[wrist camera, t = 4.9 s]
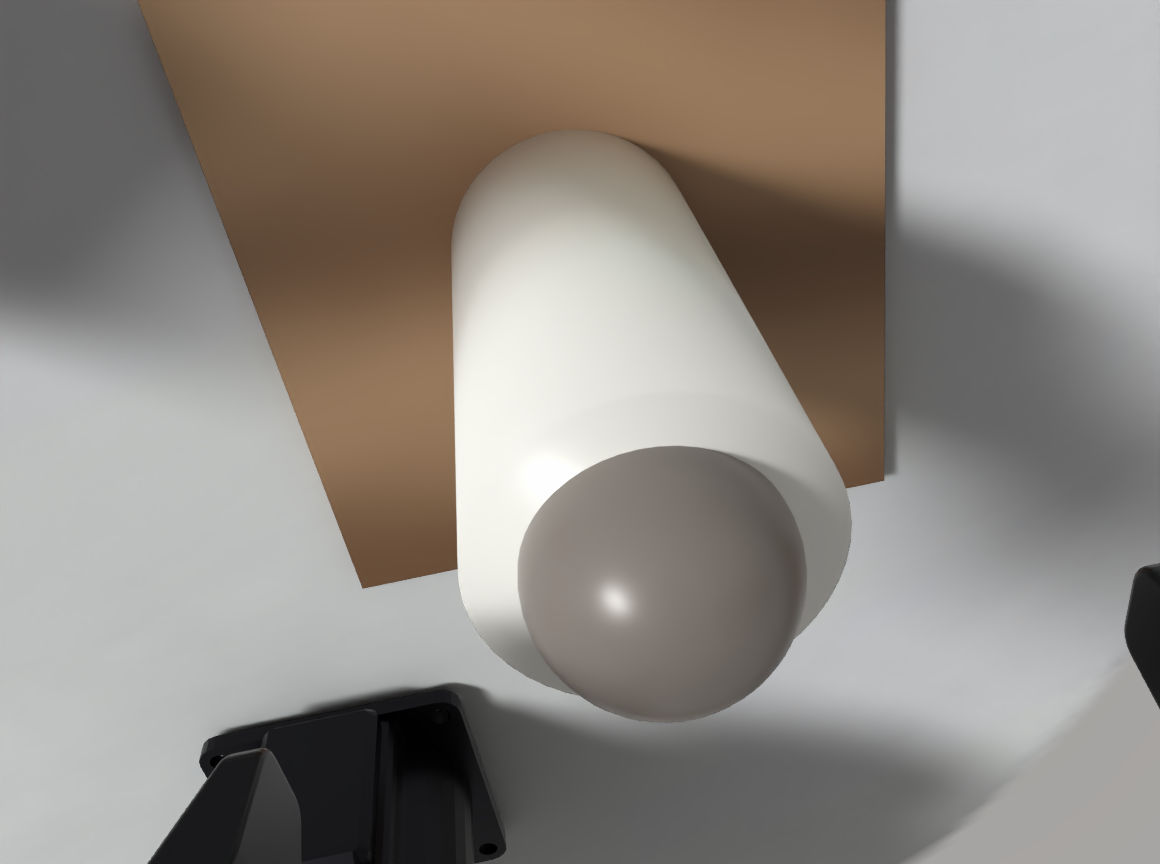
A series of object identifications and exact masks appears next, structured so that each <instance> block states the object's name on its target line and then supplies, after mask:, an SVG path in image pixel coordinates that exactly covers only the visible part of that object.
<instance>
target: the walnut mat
mask: <svg viewBox="0 0 1160 864" xmlns="http://www.w3.org/2000/svg"><path fill="white" fill-rule="evenodd" d="M137 1H138V3H139V6H140V9H141V11H142V14H143V16H144V19H145V22H146V24H147V27H148V29H149V32H150V35H151V37H152V40H153V43H154V45H155V48H156V50H157V53H158V56H159V58H160V61H161V63H162V66H163V69H164V71H165V74H166V76H167V79H168V82H169V84H170V87H171V90H172V92H173V95H174V97H175V100H176V103H177V105H178V108H179V110H180V113H181V116H182V118H183V121H184V123H185V126H186V129H187V131H188V134H189V137H190V139H191V142H192V144H193V147H194V150H195V152H196V155H197V157H198V160H199V163H200V165H201V168H202V170H203V173H204V176H205V178H206V181H207V183H208V186H209V189H210V191H211V194H212V197H213V199H214V202H215V204H216V207H217V210H218V212H219V215H220V217H221V220H222V223H223V225H224V228H225V230H226V233H227V236H228V238H229V241H230V244H231V246H232V249H233V251H234V254H235V257H236V259H237V262H238V264H239V267H240V270H241V272H242V275H243V277H244V280H245V283H246V285H247V288H248V290H249V293H250V296H251V298H252V301H253V304H254V306H255V309H256V311H257V314H258V317H259V319H260V322H261V324H262V327H263V330H264V332H265V335H266V337H267V340H268V343H269V345H270V348H271V351H272V353H273V356H274V358H275V361H276V364H277V366H278V369H279V371H280V374H281V377H282V379H283V382H284V384H285V387H286V390H287V392H288V395H289V398H290V400H291V403H292V405H293V408H294V411H295V413H296V416H297V418H298V421H299V424H300V426H301V429H302V431H303V434H304V437H305V439H306V442H307V444H308V447H309V450H310V452H311V455H312V458H313V460H314V463H315V465H316V468H317V471H318V473H319V476H320V478H321V481H322V484H323V486H324V489H325V491H326V494H327V497H328V499H329V502H330V505H331V507H332V510H333V512H334V515H335V518H336V520H337V523H338V525H339V528H340V531H341V533H342V536H343V538H344V541H345V544H346V546H347V549H348V551H349V554H350V557H351V559H352V562H353V565H354V567H355V570H356V572H357V575H358V578H359V580H360V583H361V585H362V588H368V587H373V586H378V585H382V584H387V583H392V582H397V581H402V580H407V579H411V578H416V577H421V576H426V575H431V574H436V573H440V572H445V571H450V570H455V569H458V563H457V513H456V463H455V413H454V363H453V314H452V264H451V240H452V230H453V226H454V221H455V217H456V214H457V211H458V209H459V206H460V204H461V201H462V199H463V197H464V195H465V194H466V192H467V190H468V188H469V186H470V185H471V184H472V182H473V181H474V180H475V178H476V177H477V176H478V174H479V173H480V172H481V171H482V170H483V169H484V168H485V167H486V166H487V165H488V164H489V163H490V162H491V161H492V160H494V159H495V158H496V157H497V156H499V155H500V154H501V153H503V152H504V151H506V150H507V149H509V148H511V147H512V146H514V145H516V144H518V143H520V142H522V141H524V140H527V139H529V138H532V137H534V136H538V135H541V134H545V133H549V132H554V131H561V130H591V131H598V132H603V133H607V134H610V135H614V136H617V137H620V138H622V139H624V140H627V141H629V142H631V143H633V144H635V145H636V146H638V147H640V148H641V149H643V150H645V151H646V152H647V153H648V154H650V155H651V156H652V157H653V158H655V159H656V160H657V161H658V162H659V163H660V164H661V165H662V166H663V167H664V169H665V170H666V171H667V172H668V173H669V175H670V176H671V178H672V179H673V180H674V182H675V183H676V185H677V187H678V188H679V190H680V192H681V194H682V196H683V197H684V199H685V201H686V203H687V204H688V206H689V208H690V210H691V211H692V213H693V215H694V217H695V218H696V220H697V222H698V224H699V226H700V227H701V229H702V231H703V233H704V234H705V236H706V238H707V240H708V241H709V243H710V245H711V247H712V249H713V250H714V252H715V254H716V256H717V257H718V259H719V261H720V263H721V264H722V266H723V268H724V270H725V271H726V273H727V275H728V277H729V279H730V280H731V282H732V284H733V286H734V287H735V289H736V291H737V293H738V294H739V296H740V298H741V300H742V302H743V303H744V305H745V307H746V309H747V310H748V312H749V314H750V316H751V317H752V319H753V321H754V323H755V324H756V326H757V328H758V330H759V332H760V333H761V335H762V337H763V339H764V340H765V342H766V344H767V346H768V347H769V349H770V351H771V353H772V354H773V356H774V358H775V360H776V362H777V363H778V365H779V367H780V369H781V370H782V372H783V374H784V376H785V377H786V379H787V381H788V383H789V385H790V386H791V388H792V390H793V392H794V393H795V395H796V397H797V399H798V400H799V402H800V404H801V406H802V407H803V409H804V411H805V413H806V415H807V416H808V418H809V420H810V422H811V423H812V425H813V427H814V429H815V430H816V432H817V434H818V436H819V438H820V439H821V441H822V443H823V445H824V446H825V448H826V450H827V452H828V453H829V455H830V457H831V459H832V460H833V462H834V464H835V466H836V468H837V470H838V472H839V474H840V476H841V478H842V480H843V482H844V485H845V488H851V487H856V486H861V485H865V484H870V483H875V482H880V481H884V353H885V15H886V0H137Z"/></svg>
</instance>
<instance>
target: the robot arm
mask: <svg viewBox="0 0 1160 864" xmlns="http://www.w3.org/2000/svg"><path fill="white" fill-rule="evenodd" d="M1124 631H1125V639H1126V644H1127V647H1128V649H1129V652H1130V654H1131V656H1132V658H1133V660H1134V662H1135V663H1136V665H1137V667H1138V669H1139V671H1140V673H1141V675H1142V677H1143V679H1144V680H1145V682H1146V684H1147V686H1148V688H1149V690H1150V692H1151V694H1152V696H1153V697H1154V699H1155V701H1156V703H1157V705H1158V707H1159V709H1160V563H1158V564H1154V565H1149V566H1144V567H1142V568H1140V569H1139V570H1138V572H1137V573H1136V574H1135V576H1134V580H1133V585H1132V590H1131V595H1130V600H1129V605H1128V611H1127V616H1126V621H1125V629H1124ZM438 709H444V711H436V710H438ZM221 755H223V756H221ZM199 763H200V767H201V768H202V770H203V772H204V773H205V775H206V777H207V780H206V782H205V783H204V784H203V786H202V787H201V789H200V790H199V792H198V793H197V794H196V796H195V797H194V799H193V800H192V801H191V803H190V804H189V806H188V807H187V808H186V810H185V811H184V813H183V814H182V815H181V817H180V818H179V820H178V821H177V823H176V824H175V825H174V827H173V828H172V830H171V831H170V832H169V834H168V835H167V837H166V838H165V839H164V841H163V842H162V844H161V845H160V847H159V848H158V849H157V851H156V852H155V854H154V855H153V856H152V858H151V859H150V861H149V862H148V863H147V864H475V863H479V862H483V861H488V860H493V859H495V858H498V857H500V856H501V855H503V854H504V852H505V851H506V837H505V831H504V828H503V825H502V822H501V819H500V816H499V813H498V810H497V807H496V804H495V801H494V798H493V795H492V792H491V789H490V786H489V783H488V780H487V777H486V775H485V772H484V769H483V766H482V763H481V760H480V757H479V754H478V751H477V748H476V745H475V742H474V739H473V736H472V733H471V730H470V727H469V724H468V721H467V718H466V716H465V713H464V710H463V707H462V704H461V701H460V699H459V697H458V696H457V695H456V694H454V693H453V692H451V691H446V690H436V691H431V692H426V693H421V694H417V695H412V696H407V697H402V698H397V699H393V700H388V701H383V702H378V703H373V704H369V705H364V706H359V707H354V708H349V709H345V710H340V711H335V712H330V713H325V714H321V715H316V716H311V717H306V718H301V719H297V720H292V721H287V722H282V723H277V724H273V725H268V726H263V727H258V728H253V729H249V730H244V731H239V732H234V733H229V734H225V735H220V736H215V737H213V738H210V739H208V740H207V741H206V742H205V743H204V745H203V748H202V751H201V756H200V760H199Z"/></svg>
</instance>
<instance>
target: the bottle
mask: <svg viewBox="0 0 1160 864" xmlns="http://www.w3.org/2000/svg"><path fill="white" fill-rule="evenodd" d="M451 264H452V314H453V363H454V413H455V463H456V513H457V563H458V583H459V587H460V592H461V596H462V601H463V604H464V606H465V609H466V611H467V614H468V616H469V618H470V621H471V622H472V624H473V625H474V627H475V629H476V630H477V632H478V633H479V635H480V637H481V638H482V639H483V640H484V641H485V642H486V644H487V645H488V646H489V647H490V648H491V649H492V650H493V652H494V653H496V654H497V655H498V656H499V657H500V658H501V659H503V660H504V661H505V662H506V663H507V664H508V665H510V666H511V667H513V668H514V669H516V670H518V671H519V672H521V673H522V674H524V675H525V676H527V677H529V678H531V679H533V680H535V681H537V682H539V683H541V684H544V685H546V686H549V687H552V688H554V689H557V690H560V691H563V692H566V693H570V694H575V695H579V696H581V697H583V698H584V699H586V700H587V701H589V702H590V703H592V704H593V705H595V706H597V707H599V708H601V709H603V710H605V711H608V712H611V713H614V714H617V715H619V716H622V717H625V718H629V719H634V720H638V721H646V722H664V723H667V722H682V721H688V720H694V719H698V718H702V717H706V716H708V715H711V714H714V713H717V712H719V711H721V710H724V709H726V708H728V707H730V706H731V705H733V704H735V703H737V702H738V701H740V700H742V699H743V698H745V697H746V696H748V695H749V694H751V693H752V692H753V691H754V690H756V689H757V688H758V687H759V686H760V685H761V684H762V683H763V682H764V681H765V680H766V679H767V678H768V677H769V676H770V675H771V674H772V672H773V671H774V670H775V669H776V668H777V666H778V665H779V664H780V662H781V661H782V660H783V658H784V657H785V655H786V653H787V651H788V649H789V648H790V646H791V644H792V642H793V640H794V639H795V638H796V637H797V636H798V635H799V634H801V633H802V631H803V630H804V629H805V628H806V627H807V626H808V625H809V624H810V623H811V622H812V621H813V620H814V618H815V617H816V616H817V615H818V613H819V612H820V611H821V609H822V608H823V607H824V605H825V604H826V602H827V601H828V600H829V598H830V596H831V594H832V592H833V591H834V589H835V587H836V585H837V583H838V582H839V579H840V577H841V574H842V571H843V569H844V566H845V564H846V560H847V556H848V551H849V547H850V542H851V526H852V521H851V511H850V502H849V499H848V495H847V492H846V488H845V485H844V482H843V480H842V478H841V476H840V474H839V472H838V470H837V468H836V466H835V464H834V462H833V460H832V459H831V457H830V455H829V453H828V452H827V450H826V448H825V446H824V445H823V443H822V441H821V439H820V438H819V436H818V434H817V432H816V430H815V429H814V427H813V425H812V423H811V422H810V420H809V418H808V416H807V415H806V413H805V411H804V409H803V407H802V406H801V404H800V402H799V400H798V399H797V397H796V395H795V393H794V392H793V390H792V388H791V386H790V385H789V383H788V381H787V379H786V377H785V376H784V374H783V372H782V370H781V369H780V367H779V365H778V363H777V362H776V360H775V358H774V356H773V354H772V353H771V351H770V349H769V347H768V346H767V344H766V342H765V340H764V339H763V337H762V335H761V333H760V332H759V330H758V328H757V326H756V324H755V323H754V321H753V319H752V317H751V316H750V314H749V312H748V310H747V309H746V307H745V305H744V303H743V302H742V300H741V298H740V296H739V294H738V293H737V291H736V289H735V287H734V286H733V284H732V282H731V280H730V279H729V277H728V275H727V273H726V271H725V270H724V268H723V266H722V264H721V263H720V261H719V259H718V257H717V256H716V254H715V252H714V250H713V249H712V247H711V245H710V243H709V241H708V240H707V238H706V236H705V234H704V233H703V231H702V229H701V227H700V226H699V224H698V222H697V220H696V218H695V217H694V215H693V213H692V211H691V210H690V208H689V206H688V204H687V203H686V201H685V199H684V197H683V196H682V194H681V192H680V190H679V188H678V187H677V185H676V183H675V182H674V180H673V179H672V178H671V176H670V175H669V173H668V172H667V171H666V170H665V169H664V167H663V166H662V165H661V164H660V163H659V162H658V161H657V160H656V159H655V158H653V157H652V156H651V155H650V154H648V153H647V152H646V151H645V150H643V149H641V148H640V147H638V146H636V145H635V144H633V143H631V142H629V141H627V140H624V139H622V138H620V137H617V136H614V135H610V134H607V133H603V132H598V131H591V130H561V131H554V132H549V133H545V134H541V135H538V136H534V137H532V138H529V139H527V140H524V141H522V142H520V143H518V144H516V145H514V146H512V147H511V148H509V149H507V150H506V151H504V152H503V153H501V154H500V155H499V156H497V157H496V158H495V159H494V160H492V161H491V162H490V163H489V164H488V165H487V166H486V167H485V168H484V169H483V170H482V171H481V172H480V173H479V174H478V176H477V177H476V178H475V180H474V181H473V182H472V184H471V185H470V186H469V188H468V190H467V192H466V194H465V195H464V197H463V199H462V201H461V204H460V206H459V209H458V211H457V214H456V217H455V221H454V226H453V230H452V240H451Z"/></svg>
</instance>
